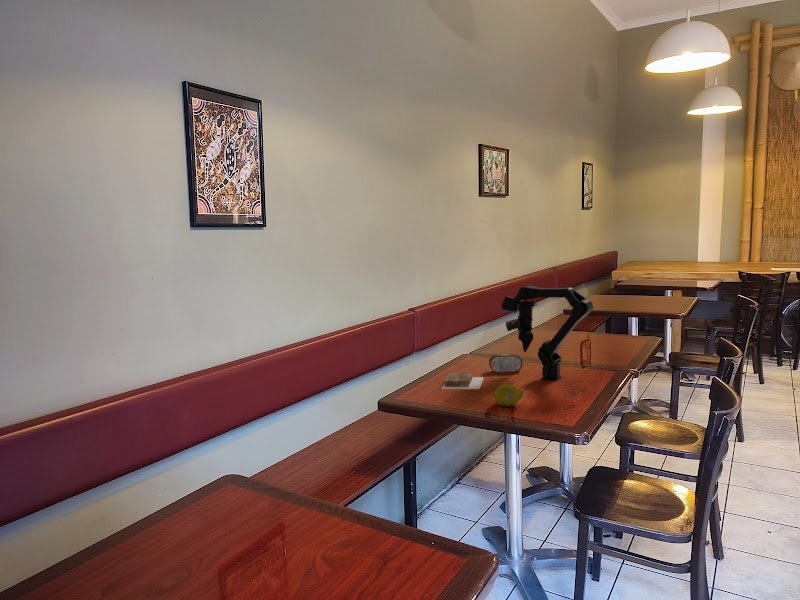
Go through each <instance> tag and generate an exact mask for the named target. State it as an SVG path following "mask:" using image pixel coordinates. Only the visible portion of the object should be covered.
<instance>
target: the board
mask: <svg viewBox="0 0 800 600" xmlns="http://www.w3.org/2000/svg"><path fill="white" fill-rule="evenodd" d="M472 377H473V373H451V372H450V373H448V375H447V376H446V378H445V380H444V382H445V386H450V387H469V385H470V383H471V380H472Z"/></svg>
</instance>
